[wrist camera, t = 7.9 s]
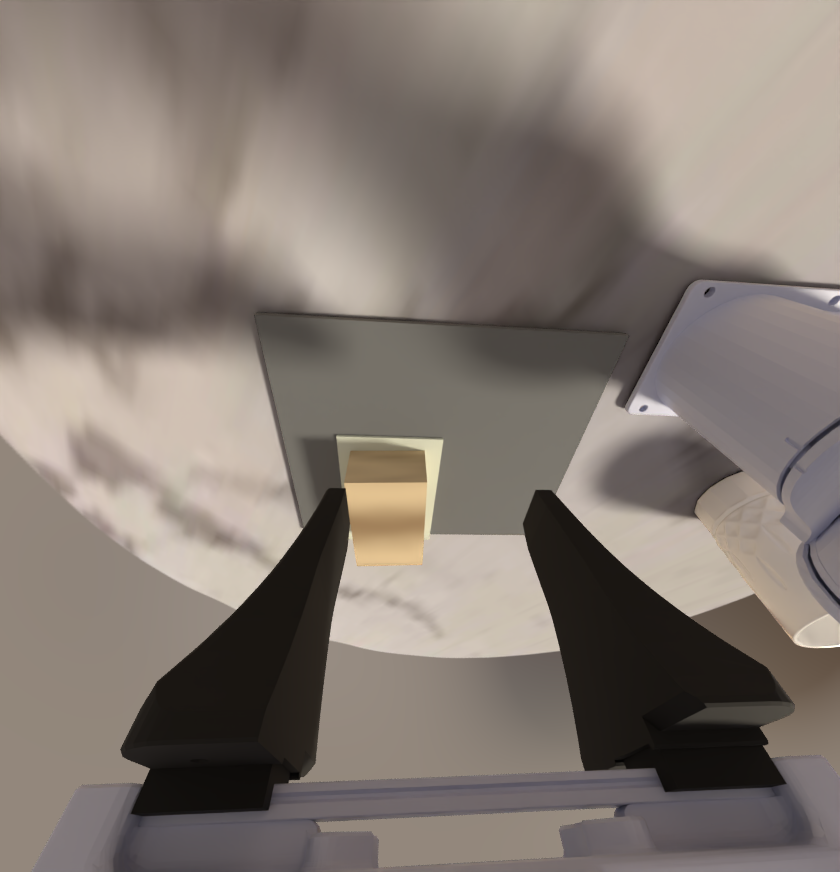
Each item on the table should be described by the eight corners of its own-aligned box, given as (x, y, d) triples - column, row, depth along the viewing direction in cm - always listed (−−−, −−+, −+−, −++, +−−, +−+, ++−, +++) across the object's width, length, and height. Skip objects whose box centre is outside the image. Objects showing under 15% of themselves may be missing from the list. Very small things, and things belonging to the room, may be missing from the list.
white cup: (672, 497, 27) (782, 625, 19) (782, 443, 24) (967, 571, 16) (702, 536, 31) (804, 657, 23) (801, 494, 28) (959, 618, 20)
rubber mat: (625, 333, 18) (631, 337, 18) (533, 534, 30) (535, 540, 29) (256, 312, 17) (252, 316, 17) (306, 532, 28) (305, 538, 28)
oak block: (420, 532, 28) (422, 564, 25) (361, 533, 28) (357, 566, 25) (424, 450, 22) (427, 482, 20) (350, 450, 22) (344, 483, 20)
